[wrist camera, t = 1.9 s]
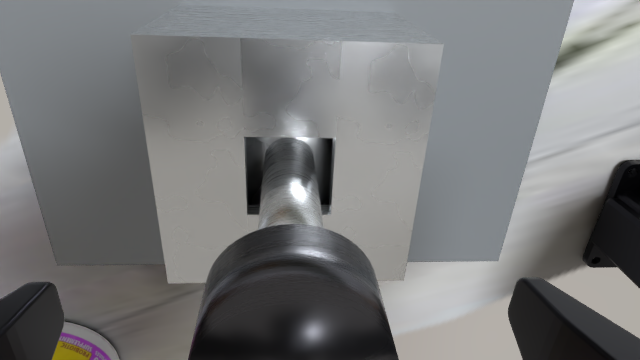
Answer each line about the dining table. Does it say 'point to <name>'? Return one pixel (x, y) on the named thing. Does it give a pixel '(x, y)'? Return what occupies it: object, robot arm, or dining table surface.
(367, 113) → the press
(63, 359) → the supplement bottle
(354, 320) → the plunger
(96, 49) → the board
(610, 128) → the dining table surface
